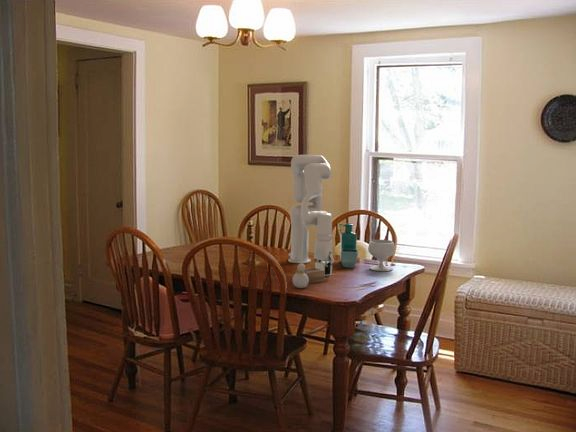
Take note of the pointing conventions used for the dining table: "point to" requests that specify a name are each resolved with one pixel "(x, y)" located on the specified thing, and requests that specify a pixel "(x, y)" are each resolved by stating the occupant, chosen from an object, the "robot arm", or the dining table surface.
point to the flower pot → (349, 257)
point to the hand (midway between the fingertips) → (323, 272)
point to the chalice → (381, 252)
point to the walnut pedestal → (314, 275)
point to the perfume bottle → (300, 277)
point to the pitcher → (348, 238)
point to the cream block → (322, 267)
